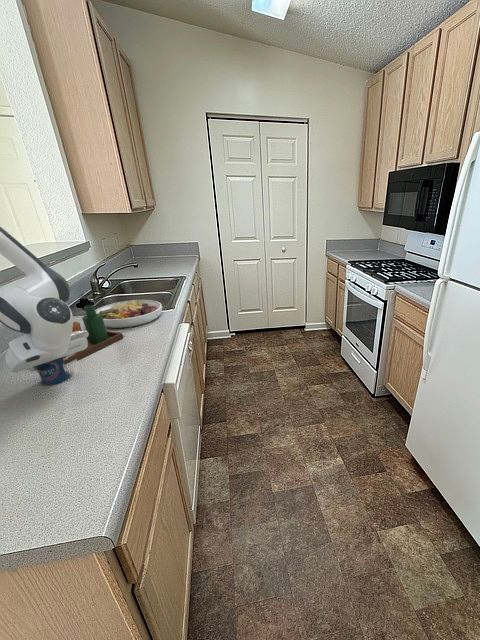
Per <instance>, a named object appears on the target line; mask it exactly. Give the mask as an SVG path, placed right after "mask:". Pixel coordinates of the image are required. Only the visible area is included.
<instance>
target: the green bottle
mask: <svg viewBox="0 0 480 640" xmlns="http://www.w3.org/2000/svg"><path fill="white" fill-rule="evenodd" d="M83 309H84V311H85V314H86V315H83V316H82V318H81V319H82V322H83V325H84V329H85V331H87V332H88V333H89V335H88V337H89V340H90V343H91V344H98V343H100V342H102V341H104V340H106V339H109V337H108V334H107V331H108V330H107V327H105V324H104V320H103V317H102V314H98V313H97V314H96V311H95V310H96V308H95V306H94V304H89V305H85V306H84V307H83Z"/></svg>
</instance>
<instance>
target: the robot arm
mask: <svg viewBox="0 0 480 640" xmlns="http://www.w3.org/2000/svg"><path fill="white" fill-rule="evenodd" d="M0 255H1V256H3V258H5V259H6V260H8V261H9V262H10V263H11V264H13V266H15V267H16V268H18V269H19V270H20V271H21V272H23V274H24V275H25V277H23V278H21V279H20V280H18V281H16V282H15V283H13V284H10V285H8V286H6V287H5V288H3V289H1V290H0V323H1V324H2V325H4V326H5V327H7V328H8V329H10V330H12V331H15V332H17V333H21V334H23V335H21V336H19V337H16V338H14V339H12V340H10V341H9V342H8V347H9V349H8V350H7V351H6V354H5V364H6V366H7V367H8V369H9V370H10V372H11V373H15V374H16V373H19V372H22V371H25V370H29V369H30V370H31V371H32V372H34V371H38V370H37V369H38V366H37V365H40V364H43V363H46V362H49V361H52V360H55V359H58V358H61V357H62V359H63V360H66V359H68V357H70V356H72V355H74V354H73V353H76V352H79V351H82V350H85V349H86V348H87V347H88V341H87V339H86V338H87V337H88V335H89V333H88V332H87V331H86V330H85V331H84V330H82V331H76V332H72V329H73V322H74V315H73V312H72V309H71V307H70V306H69V305H68V304H67V303H66V302H68V301H69V300H70V296H71V295H70V290H71V289H70V285H69V282H68V281H67V280H66V279H65V277H63V276H62V275H61V274H59V272H57V271H55V270H54V269H53V268H51V267H49V266H48V265H46V264H45V263H44V262H43V261H42V260H41V259H40V258H38V257H37V256H36V255H34V253H32V252H31V251H30V250H29V249H28V248H27V247H26V246H24V244H22V243H21V242H20V241H18V239H16V238H15V237H14V236H12V235H11V234H10V233H9V232H8V231H7V230H6V229H4V228H3V227H2V226H0Z"/></svg>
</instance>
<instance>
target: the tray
mask: <svg viewBox="0 0 480 640" xmlns="http://www.w3.org/2000/svg"><path fill="white" fill-rule="evenodd" d="M107 334H108V337H109V339H106V340H104V341H102V342H100V343H98V344H91V343H90V340H89V337H87V338H86V339H87V341H88V348H87V349H85V350H83V351H81V352H79V353H76V354H71V355H70V356H69V357H68V359H66V360H63V362H64V364H65V365H66V364H68V363H70V362H71V363H72V361H75V360H76V362H78V361H80V360H82V359H84V358H86V357H89V356H91V355H92V354H95V353H97V352H98V351H101V350H103V349H105V348H107V347H109V346H111V345H113V344H115V343H118V342H119V341H121V340H124V336H123V332H116V331H110V330H107Z"/></svg>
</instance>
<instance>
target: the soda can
mask: <svg viewBox="0 0 480 640" xmlns="http://www.w3.org/2000/svg"><path fill="white" fill-rule="evenodd" d="M37 366H38V369H37V370H36V371H37V373H38V375H39V377H40V380H41V382H42V384H44V385H47V386H52V385H57V384H60V383H63V382H65V381H67V379H69V372H68V370H67V367H66V364H64V362H63V359H62V357H61V358H58V359H55V360H52V361H49V362H46V363H43V364H40V365H37Z"/></svg>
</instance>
